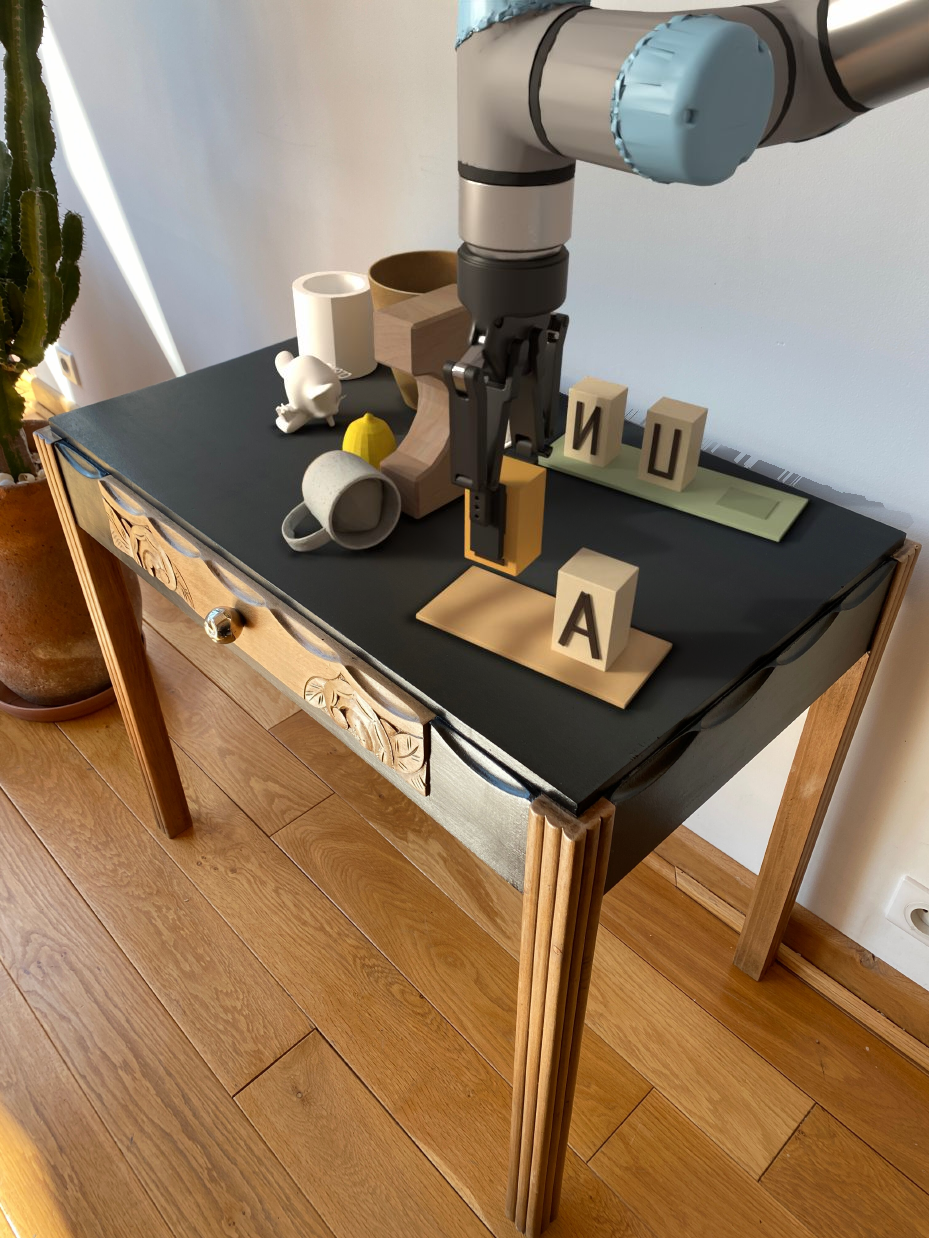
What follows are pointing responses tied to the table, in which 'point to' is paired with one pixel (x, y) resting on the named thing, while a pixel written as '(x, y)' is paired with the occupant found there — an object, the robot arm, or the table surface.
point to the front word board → (536, 634)
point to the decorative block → (423, 392)
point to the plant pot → (410, 290)
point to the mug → (336, 320)
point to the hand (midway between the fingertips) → (502, 539)
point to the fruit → (370, 440)
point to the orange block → (516, 517)
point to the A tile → (593, 608)
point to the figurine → (307, 390)
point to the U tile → (672, 443)
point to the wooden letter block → (595, 421)
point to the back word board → (692, 492)
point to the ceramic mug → (344, 503)
